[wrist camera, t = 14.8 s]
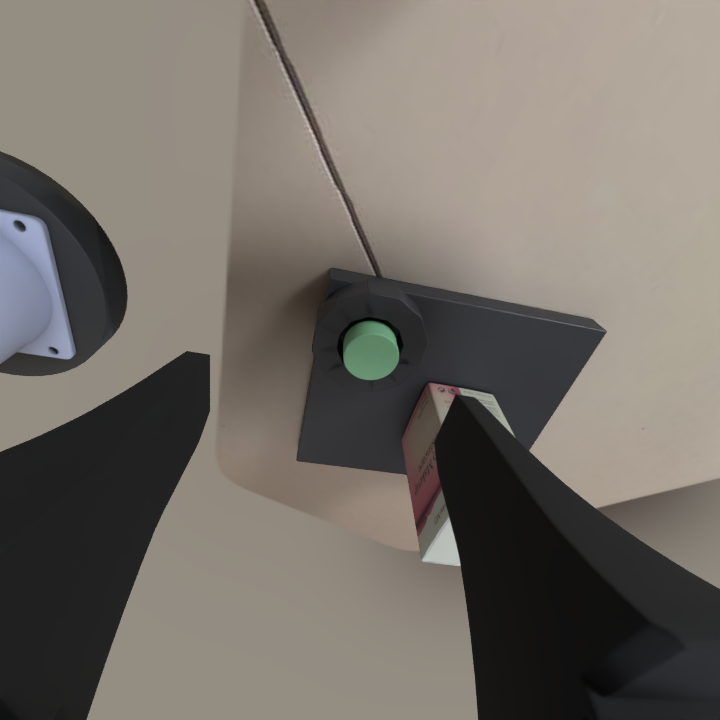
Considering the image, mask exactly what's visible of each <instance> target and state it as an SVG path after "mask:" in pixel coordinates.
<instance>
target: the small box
mask: <svg viewBox="0 0 720 720" xmlns="http://www.w3.org/2000/svg"><path fill="white" fill-rule="evenodd" d="M456 394H459V395H465V396H471V397H475V398H476V399H477V400H479V401H480V402H481V403H482V404H483V405H484V406H485V407H486V408H487V409H488V410H489V411H490V412H491V413H492V414H493V415H494V416H495V417H496V418H497V419H498V420H499V421H500V422H501V423H502V424H503V425H504V426H505V427H506V428H507V430H508V431H509V432H510V433H511V434H512V435H513V436H514V434H513V432H512V430H511V428H510V426H509V424H508V422H507V420H506V418H505V416H504V415H503V413H502V411H501V409H500V407H499V405H498V403H497V401H496V399H495V397H494V396H493V395H492V394H488V393H483V392H478V391H474V390H469V389H464V388H458V387H453V386H447V385H441V384H435V383H428V384H427V385H426V387H425V389H424V391H423V393H422V395H421V397H420V399H419V401H418V403H417V405H416V407H415V409H414V411H413V414H412V416H411V418H410V421H409V423H408V426H407V428H406V430H405V433H404V435H403V438H402V447H403V452H404V458H405V465H406V471H407V478H408V483H409V489H410V494H411V500H412V506H413V512H414V518H415V524H416V529H417V536H418V542H419V548H420V554H421V560H422V561H423V562H430V563H438V564H447V565H454V566H455V565H456V566H461V565H460V559H459V554H458V550H457V545H456V541H455V537H454V533H453V530H452V526H451V522H450V518H449V514H448V511H447V507H446V503H445V499H444V496H443V492H442V488H441V484H440V480H439V476H438V471H437V464H436V456H435V446H434V441H435V439H436V437H437V434H438V432H439V430H440V428H441V426H442V423H443V421H444V419H445V417H446V415H447V412H448V410H449V408H450V406H451V404H452V401H453V399H454V397H455V395H456ZM514 437H515V436H514Z"/></svg>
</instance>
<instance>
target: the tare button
mask: <svg viewBox="0 0 720 720" xmlns="http://www.w3.org/2000/svg"><path fill="white" fill-rule="evenodd" d="M398 360H399V351H398V346H397V342H396V337H395V334H394V332H393V331H392V330H391V328H389V327H388V326H387V325H386V324H384V323H382V322H379V321H373V320H368V321H362V322H360V323H357V324H355V325H354V326H352V327H351V328H350V329H349V330H348V332H347V333H346V335H345V337H344V342H343V361H344V364H345V366H346V368H347V370H348V371H349V372H350V373H351V374H352V375H354V376H355V377H357V378H360V379H364V380H377V379H381V378H383V377H385V376H387V375H389V374H390V373H391V372H392V371H393V370H394V369H395V367H396V366H397V363H398Z"/></svg>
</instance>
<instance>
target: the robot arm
mask: <svg viewBox="0 0 720 720" xmlns="http://www.w3.org/2000/svg"><path fill="white" fill-rule="evenodd" d="M19 221H21V222H22V223H23V224H24V225H25V227H26V229H24V228H23V227H22V226H21V225H20V223H19ZM54 348H55V349H57V350H58V351H56V350H55V349H54ZM16 352H20V353H26V354H33V355H40V356H47V357H53V358H60V359H71V358H72V357H73V356H74V355H75V354H76V348H75V344H74V340H73V335H72V331H71V327H70V322H69V318H68V314H67V309H66V305H65V301H64V296H63V292H62V287H61V283H60V279H59V274H58V270H57V266H56V261H55V257H54V253H53V248H52V244H51V240H50V235H49V231H48V228H47V225H46V224H45V222H44V221H43V220H41V219H40V218H39V217H36V216H33V215H28V214H23V213H17V212H12V211H7V210H2V209H0V364H1V363H2V362H4V361H5V360H7V359H8V358H9V357H11V356H12V355H13V354H15V353H16ZM209 412H210V355H207V354H201V353H194V352H188V351H187V352H185V353H183V354H182V355H180V356H179V357H177V358H175V359H174V360H173V361H171V362H170V363H168V364H166V365H165V366H163V367H162V368H160V369H159V370H157V371H156V372H154V373H153V374H151V375H150V376H148V377H147V378H145V379H143V380H142V381H140V382H139V383H137V384H135V385H134V386H133V387H131V388H129V389H128V390H126V391H124V392H123V393H121V394H119V395H117V396H116V397H114V398H112V399H110V400H109V401H107V402H105V403H103V404H102V405H100V406H98V407H96V408H95V409H93V410H92V411H89V412H87V413H85V414H84V415H82V416H80V417H78V418H76V419H74V420H72V421H70V422H68V423H66V424H64V425H61V426H59V427H57V428H55V429H53V430H51V431H49V432H47V433H44V434H42V435H40V436H38V437H36V438H34V439H31V440H29V441H26V442H24V443H22V444H19V445H16V446H14V447H11V448H9V449H6V450H4V451H2V452H0V720H86V719H87V716H88V713H89V710H90V707H91V704H92V701H93V698H94V695H95V692H96V689H97V686H98V683H99V680H100V677H101V674H102V671H103V668H104V665H105V663H106V660H107V657H108V654H109V651H110V648H111V645H112V642H113V640H114V637H115V634H116V631H117V629H118V626H119V623H120V620H121V617H122V614H123V612H124V609H125V606H126V603H127V601H128V598H129V595H130V593H131V590H132V587H133V585H134V582H135V580H136V576H137V574H138V572H139V569H140V566H141V563H142V561H143V559H144V556H145V553H146V551H147V548H148V546H149V543H150V541H151V538H152V535H153V533H154V531H155V528H156V526H157V524H158V522H159V520H160V518H161V515H162V513H163V511H164V509H165V507H166V505H167V503H168V502H169V500H170V498H171V496H172V493H173V492H174V490H175V488H176V486H177V484H178V482H179V480H180V478H181V476H182V474H183V472H184V470H185V468H186V466H187V464H188V462H189V460H190V459H191V456H192V455H193V453H194V451H195V449H196V447H197V445H198V442H199V440H200V437H201V435H202V432H203V429H204V426H205V423H206V420H207V418H208V415H209ZM434 446H435V456H436V464H437V471H438V476H439V480H440V484H441V488H442V492H443V496H444V499H445V503H446V507H447V511H448V514H449V518H450V522H451V526H452V530H453V533H454V537H455V541H456V545H457V550H458V554H459V559H460V565H461V571H462V577H463V584H464V590H465V597H466V604H467V612H468V619H469V627H470V635H471V643H472V653H473V661H474V662H473V663H474V672H475V683H476V696H477V709H478V720H720V589H719V588H717V587H715V586H713V585H712V584H710V583H708V582H706V581H704V580H703V579H701V578H699V577H698V576H696V575H694V574H692V573H691V572H689V571H687V570H686V569H684V568H682V567H681V566H679V565H678V564H676V563H674V562H673V561H671V560H669V559H668V558H667V557H665V556H663V555H662V554H660V553H659V552H657V551H655V550H654V549H652V548H651V547H649V546H648V545H646V544H645V543H643V542H642V541H640V540H639V539H637V538H636V537H634V536H633V535H631V534H630V533H629V532H627V531H626V530H624V529H623V528H622V527H620V526H619V525H617V524H616V523H615V522H613V521H612V520H610V519H609V518H607V517H606V516H605V515H603V514H602V513H601V512H599V511H598V510H597V509H595V508H594V507H593V506H592V505H590V504H589V503H588V502H587V501H585V500H584V499H583V498H582V497H580V496H579V495H578V494H577V493H575V492H574V491H573V490H572V489H570V488H569V487H568V486H567V485H566V484H564V483H563V482H562V481H561V480H560V479H559V478H558V477H556V476H555V475H554V474H553V473H552V472H551V471H550V470H549V469H548V468H547V467H545V466H544V465H543V464H542V463H541V462H540V461H539V460H538V459H537V458H536V457H535V456H534V455H533V454H532V453H530V452H529V451H528V450H527V449H526V448H525V447H524V446H523V445H522V444H521V443H520V442H519V441H518V440H517V439H516V438H515V437H514V436H513V435H512V434H511V433H510V432H509V431H508V430H507V428H506V427H505V426H504V425H503V424H502V423H501V422H500V421H499V420H498V419H497V418H496V417H495V416H494V415H493V414H492V413H491V412H490V411H489V410H488V409H487V408H486V407H485V406H484V405H483V404H482V403H481V402H480V401H479V400H477V399H476V398H475V397H471V396H465V395H459V394H456V395H455V397H454V399H453V401H452V404H451V406H450V408H449V410H448V412H447V415H446V417H445V419H444V421H443V423H442V426H441V428H440V430H439V432H438V434H437V437H436V439H435V441H434Z"/></svg>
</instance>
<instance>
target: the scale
mask: <svg viewBox="0 0 720 720" xmlns="http://www.w3.org/2000/svg"><path fill="white" fill-rule="evenodd" d="M368 320H373V321H379V322H382V323H384V324H386V325H387V326H388V327H389V328H391V330H392V331H393V332H394V334H395V337H396V342H397V346H398V351H399V360H398V363H397V366H396V367H395V369H394V370H393V371H392V372H391V373H390V374H389V375H387V376H385V377H383V378H381V379H377V380H364V379H360V378H357V377H355V376H354V375H352V374H351V373H350V372H349V371H348V370H347V368H346V366H345V364H344V361H343V342H344V337H345V335H346V333H347V332H348V330H349V329H350V328H351V327H352V326H354V325H355V324H357V323H360V322H362V321H368ZM606 332H607V331H606V330H605V329H603V328H602V327H601V326H600V325H599V324H597V323H596V322H595V321H594V320H592V319H587V318H582V317H577V316H572V315H567V314H562V313H557V312H551V311H546V310H541V309H536V308H531V307H526V306H521V305H516V304H511V303H506V302H501V301H496V300H491V299H486V298H481V297H476V296H471V295H466V294H461V293H456V292H451V291H446V290H441V289H436V288H431V287H426V286H421V285H416V284H411V283H406V282H401V281H396V280H391V279H386V278H381V277H376V276H371V275H366V274H361V273H356V272H351V271H346V270H341V269H336V268H330V272H329V277H328V283H327V288H326V294H325V300H324V304H323V305H322V306H321V307H320V308H319V310H318V314H317V320H316V325H315V331H314V338H313V344H312V352H313V354H314V361H313V367H312V372H311V378H310V384H309V389H308V395H307V400H306V406H305V412H304V417H303V423H302V429H301V434H300V440H299V445H298V452H297V459H296V460H297V461H301V462H309V463H317V464H325V465H333V466H341V467H349V468H357V469H365V470H373V471H381V472H389V473H398V474H406V475H407V471H406V465H405V458H404V452H403V447H402V438H403V435H404V433H405V430H406V428H407V426H408V423H409V421H410V418H411V416H412V414H413V411H414V409H415V407H416V405H417V403H418V401H419V399H420V397H421V395H422V393H423V391H424V389H425V387H426V385H427V384H428V383H435V384H441V385H447V386H453V387H458V388H464V389H469V390H474V391H478V392H483V393H488V394H492V395H493V396H494V397H495V399H496V401H497V403H498V405H499V407H500V409H501V411H502V413H503V415H504V416H505V418H506V420H507V422H508V424H509V426H510V428H511V430H512V432H513V434H514V436H515V438H516V439H517V440H518V441H519V442H520V443H521V444H522V445H523V446H524V447H525V448H526V449H527V450H528V451H529V450H530V448H531V447H532V445H533V444H534V442H535V441H536V439H537V438H538V436H539V435H540V433H541V431H542V430H543V428H544V427H545V425H546V424H547V422H548V421H549V419H550V418H551V416H552V415H553V413H554V412H555V410H556V409H557V407H558V406H559V404H560V402H561V401H562V399H563V398H564V396H565V395H566V393H567V392H568V390H569V389H570V387H571V386H572V384H573V383H574V381H575V380H576V378H577V377H578V375H579V373H580V372H581V370H582V369H583V367H584V366H585V364H586V363H587V361H588V360H589V358H590V357H591V355H592V354H593V352H594V351H595V349H596V347H597V346H598V344H599V343H600V341H601V340H602V338H603V337H604V335H605V334H606Z"/></svg>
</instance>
